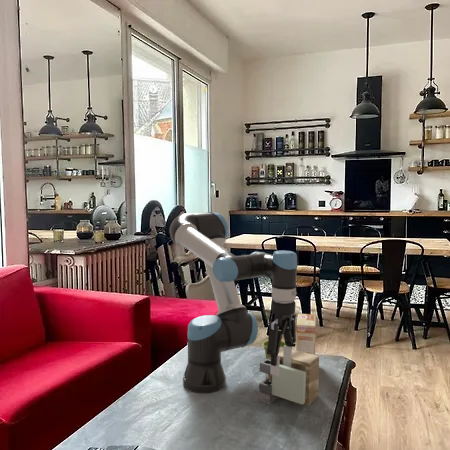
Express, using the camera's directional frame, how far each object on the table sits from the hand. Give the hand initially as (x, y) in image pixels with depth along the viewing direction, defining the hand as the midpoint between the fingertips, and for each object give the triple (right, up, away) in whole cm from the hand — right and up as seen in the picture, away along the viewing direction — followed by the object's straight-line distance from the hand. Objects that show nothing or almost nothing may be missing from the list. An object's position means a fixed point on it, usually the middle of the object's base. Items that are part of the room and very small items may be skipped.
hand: (281, 370), depth 144 cm
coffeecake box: (+13, -9, +29) cm, 33 cm away
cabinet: (+3, -11, +5) cm, 13 cm away
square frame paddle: (0, -9, 0) cm, 9 cm away
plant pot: (+1, -9, +32) cm, 33 cm away
